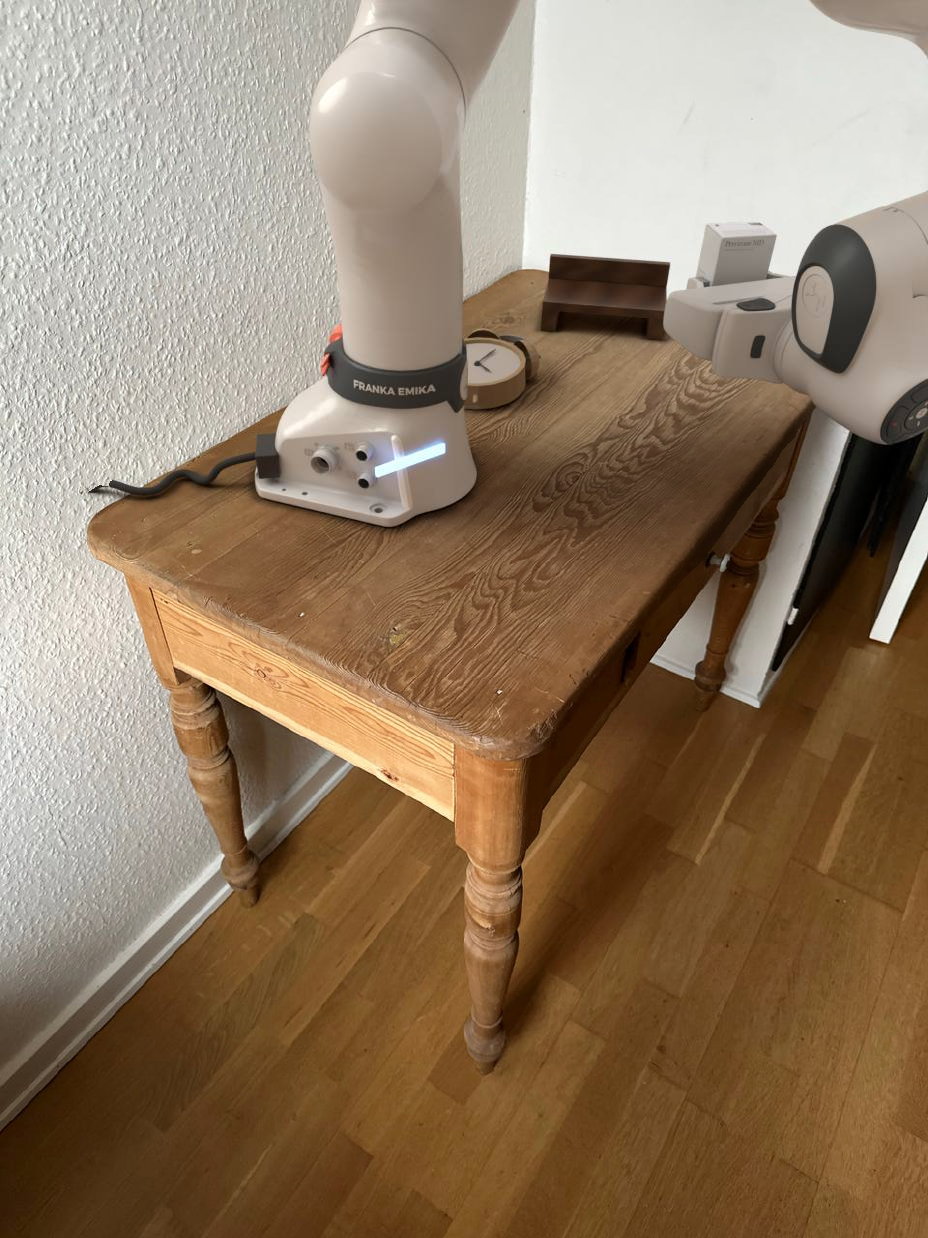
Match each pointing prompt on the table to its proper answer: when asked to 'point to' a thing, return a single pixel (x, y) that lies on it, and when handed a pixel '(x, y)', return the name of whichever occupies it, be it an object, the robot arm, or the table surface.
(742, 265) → the cosmetic box
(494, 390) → the alarm clock
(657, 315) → the brown wooden bench
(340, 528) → the table surface
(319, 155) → the robot arm
